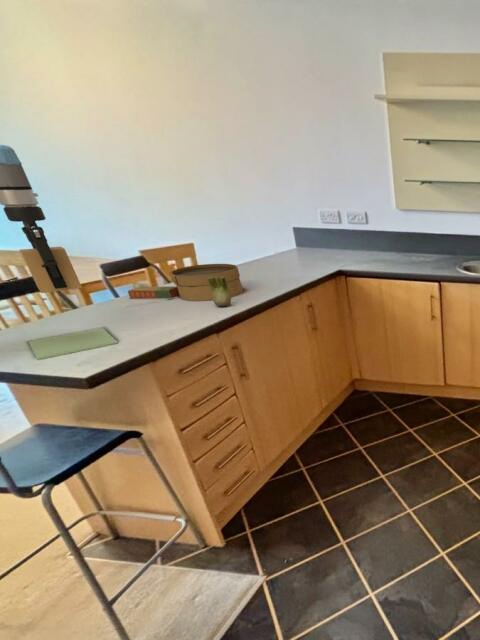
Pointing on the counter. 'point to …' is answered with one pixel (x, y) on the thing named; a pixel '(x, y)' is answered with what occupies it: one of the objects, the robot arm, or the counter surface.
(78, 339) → the mat
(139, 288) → the carton
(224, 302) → the fennel bulb
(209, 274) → the steamer basket
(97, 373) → the counter surface
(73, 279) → the packet
